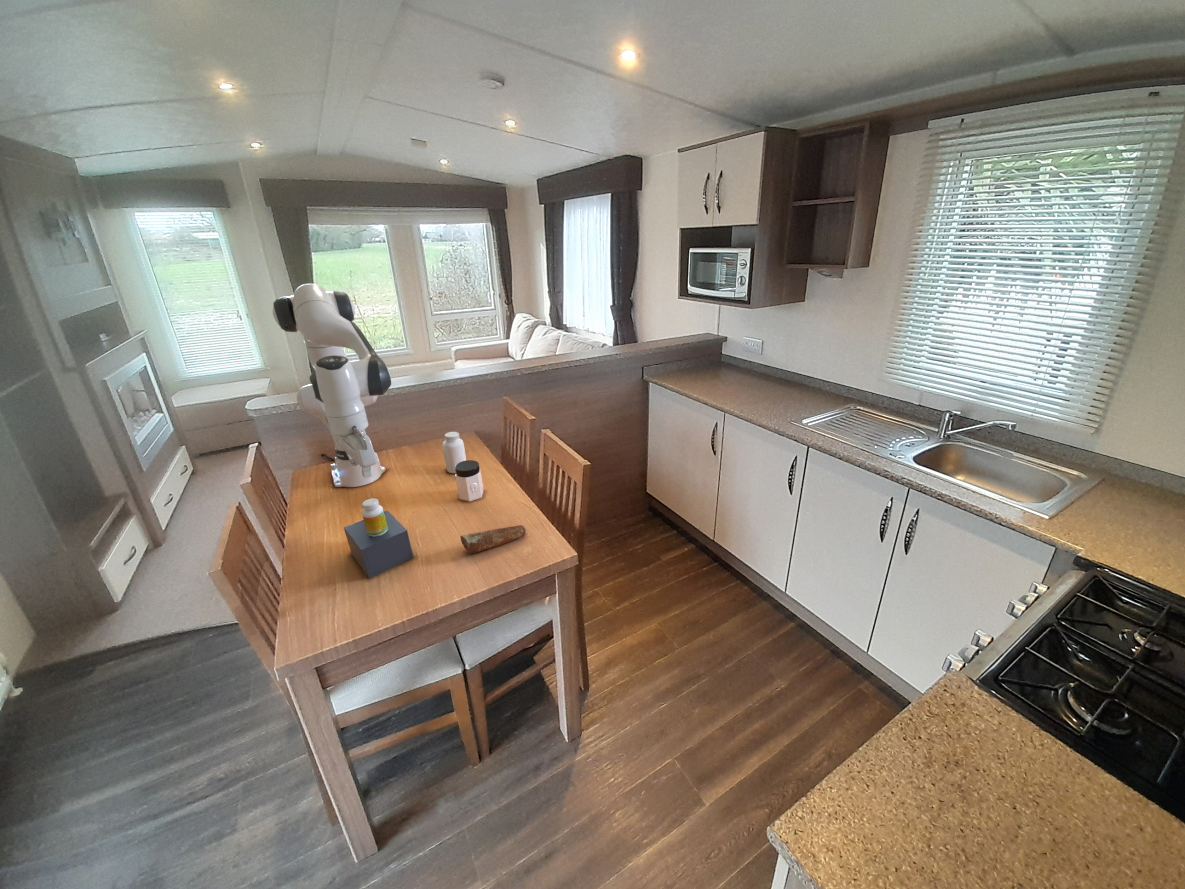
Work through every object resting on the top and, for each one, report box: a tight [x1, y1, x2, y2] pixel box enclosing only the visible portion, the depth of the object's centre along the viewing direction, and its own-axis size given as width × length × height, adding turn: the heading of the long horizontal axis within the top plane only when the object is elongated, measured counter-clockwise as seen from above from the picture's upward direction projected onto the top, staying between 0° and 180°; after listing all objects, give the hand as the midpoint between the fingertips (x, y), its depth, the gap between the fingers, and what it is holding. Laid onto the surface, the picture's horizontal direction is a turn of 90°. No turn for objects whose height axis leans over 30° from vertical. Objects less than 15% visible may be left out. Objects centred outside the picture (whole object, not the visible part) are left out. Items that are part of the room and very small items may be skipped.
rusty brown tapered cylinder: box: [460, 524, 527, 555], centre depth 141 cm, size 6×19×6 cm, turn 115°
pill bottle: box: [441, 431, 467, 474], centre depth 184 cm, size 8×8×15 cm
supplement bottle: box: [361, 497, 388, 537], centre depth 131 cm, size 5×5×10 cm
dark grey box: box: [343, 509, 414, 579], centre depth 137 cm, size 15×13×10 cm
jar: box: [454, 459, 484, 503], centre depth 166 cm, size 9×8×12 cm
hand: (361, 470), depth 125 cm, fingers open, 8 cm apart
